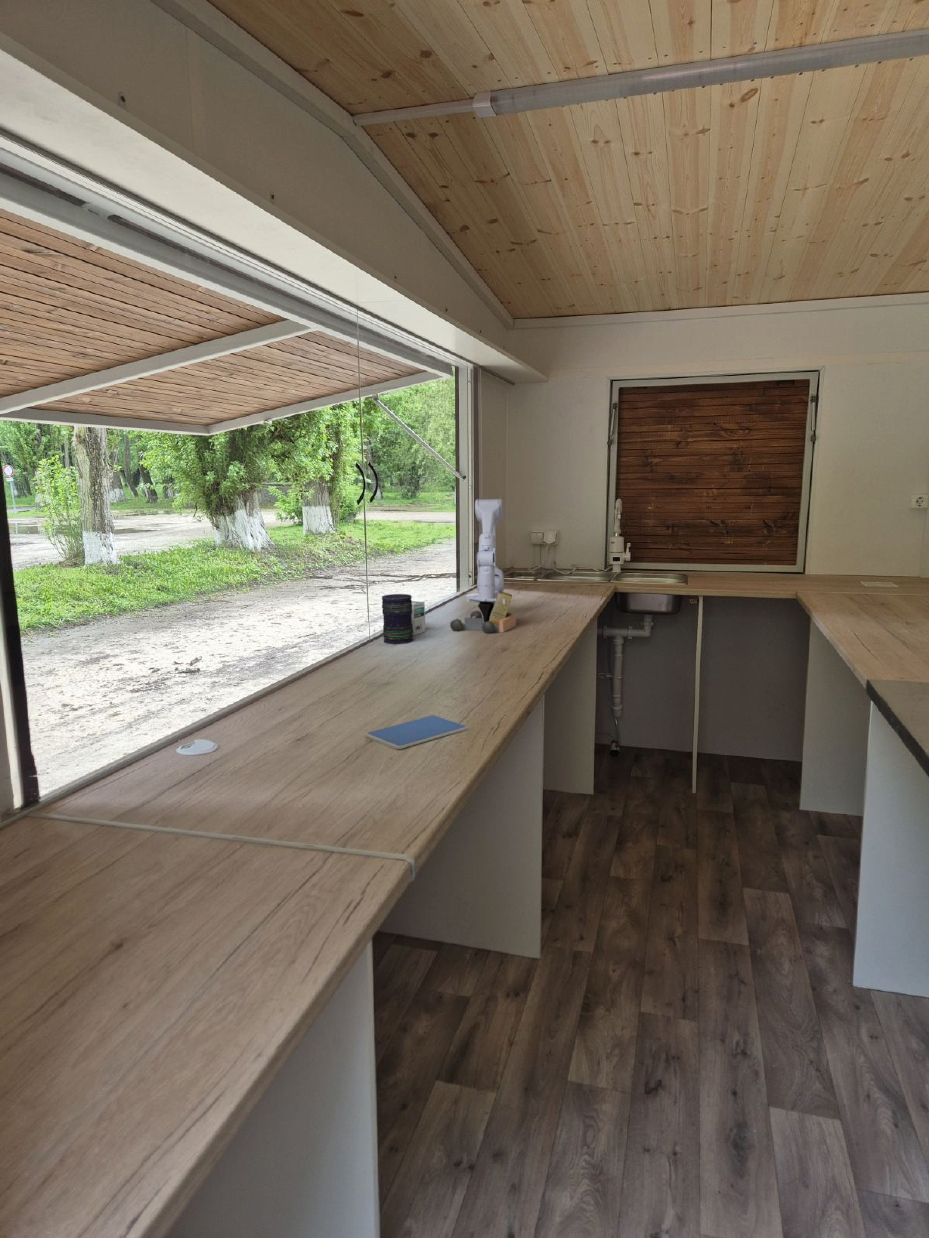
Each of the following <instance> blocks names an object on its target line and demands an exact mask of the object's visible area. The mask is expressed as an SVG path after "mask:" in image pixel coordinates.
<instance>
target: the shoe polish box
mask: <svg viewBox="0 0 929 1238" xmlns="http://www.w3.org/2000/svg"><path fill="white" fill-rule="evenodd" d="M503 599H505V605H504V604H503ZM512 599H513V594H511V593H508V592H504V591H503V592H502V591H498V594H497V597H496V601H495V603H494V606H493V609H492V612H491V615H490V618H489V621H491V622H492V623H493V624H494V625H497V626H499V621H500V620H502V619H504V618H505V617H506V614H507V613H508V610H509V606H510V605H511V602H512Z"/></svg>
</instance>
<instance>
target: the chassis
mask: <svg viewBox="0 0 929 1238" xmlns="http://www.w3.org/2000/svg"><path fill="white" fill-rule="evenodd" d="M516 618H517V615H516V614H512V613H510V612H507V614H506V617H505V618H504V619H502V620H500V621H499V626H497V625H494V624H493V623H492V622H491V621H487V622H484V618H482V612H481V611H479V610H475V611H472V612H471V613H470V617H467V616H466V617H464V623H463V621H462V620H460V619H459V618H456V619H453V620H452V621H450V629H451V630H452V631H454V632H459V631H460V630H463V631H464V630H465V631H479V632H483V633H485V634H491V633H493V632H495V633H504V632H507V631H508V630H511V629H514V628H515V627H516V626H517V622H516V621H517V619H516Z"/></svg>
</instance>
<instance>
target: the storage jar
mask: <svg viewBox="0 0 929 1238" xmlns="http://www.w3.org/2000/svg"><path fill="white" fill-rule="evenodd" d="M381 600H382V601H381V608H382V609H381V610H382V611H381V612H382V616H383V625H382V628H383V629H382V635H383V643H384V644H387V645H406V644H410V643H413V642H414V635H413V625H412V616H411V613H412V601H413V600H412V595H411V594H405V593H396V594H395V593H393V594H392V593H391V594H385V595H382V596H381Z"/></svg>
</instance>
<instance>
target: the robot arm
mask: <svg viewBox="0 0 929 1238" xmlns="http://www.w3.org/2000/svg"><path fill="white" fill-rule="evenodd" d="M474 511H475V512H474V513H475V516H476V519H477V522H479V523H481V525H482V526H481V527H482V528H481V529H482V533H481V534H480V535H479V537H478V552H476V566H477V579H476V581H477V582H476V586H477V587H476V588H477V589H476V590H477V592H478V595H469V596H466V603H478V605H477V606H478V609H479V610H480V612H481V614H482V618H484V622H487V621H489V618H490V615H491V612H492V609H493V606H494V603H495V601H496V597H497V594H498V591H502V592H504V589H505V578H504V577H505V576H504V572H503V570H502V569H500V568H499V567H498V566H497V543H496V542H497V541H496V540H497V539H496V537H497V536H496V534H497V533H496V532H497V531H496V530H497V529H496V528H497V526H498V523H499V522H501V521H502V519H503V511H504V510H503V499H502V498H495V499H478V498H477V499H476V500H475V501H474ZM503 604H504V605H505V599H503Z"/></svg>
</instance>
